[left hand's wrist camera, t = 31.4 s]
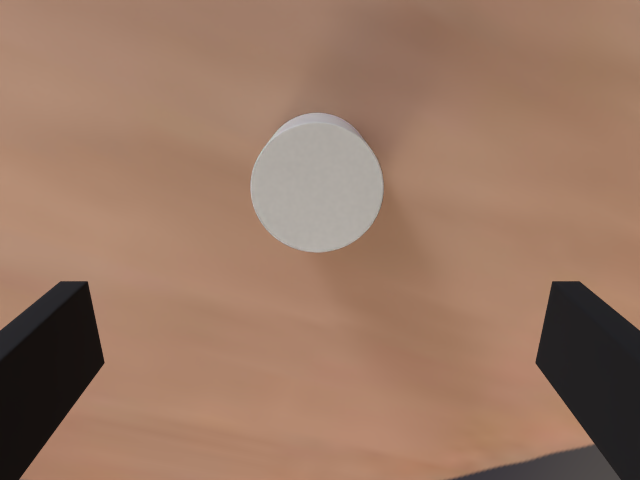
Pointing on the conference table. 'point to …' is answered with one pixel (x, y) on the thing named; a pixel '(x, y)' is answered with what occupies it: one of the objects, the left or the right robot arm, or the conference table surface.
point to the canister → (317, 184)
